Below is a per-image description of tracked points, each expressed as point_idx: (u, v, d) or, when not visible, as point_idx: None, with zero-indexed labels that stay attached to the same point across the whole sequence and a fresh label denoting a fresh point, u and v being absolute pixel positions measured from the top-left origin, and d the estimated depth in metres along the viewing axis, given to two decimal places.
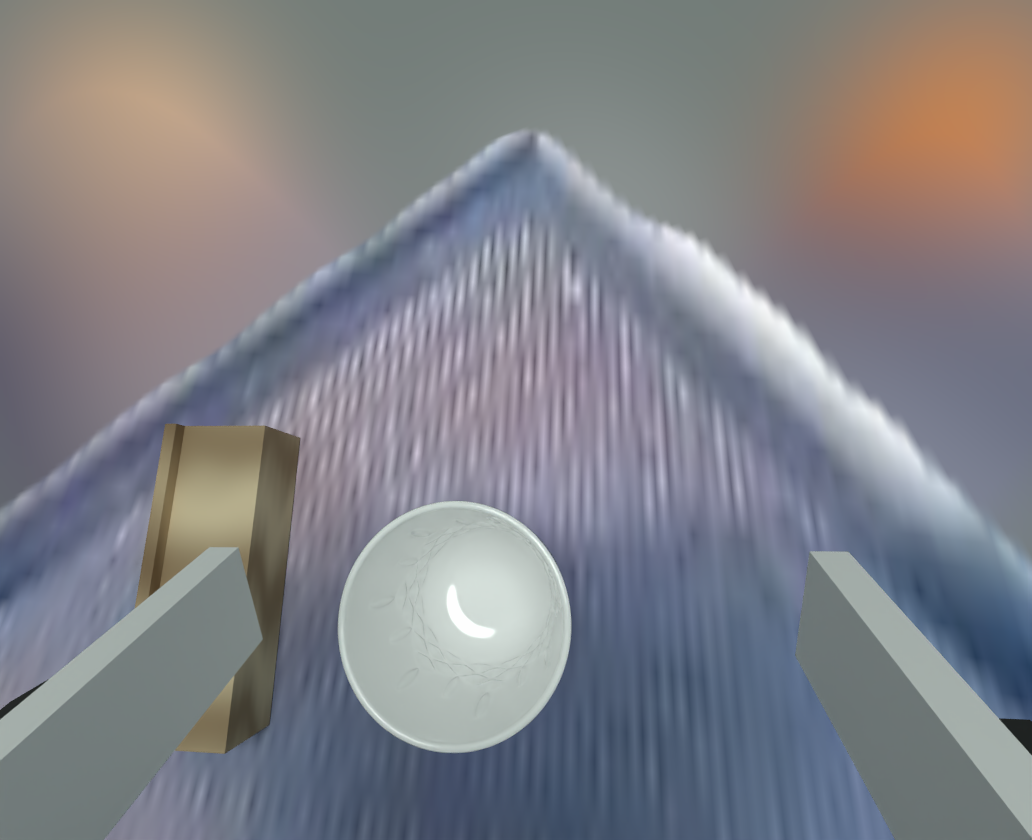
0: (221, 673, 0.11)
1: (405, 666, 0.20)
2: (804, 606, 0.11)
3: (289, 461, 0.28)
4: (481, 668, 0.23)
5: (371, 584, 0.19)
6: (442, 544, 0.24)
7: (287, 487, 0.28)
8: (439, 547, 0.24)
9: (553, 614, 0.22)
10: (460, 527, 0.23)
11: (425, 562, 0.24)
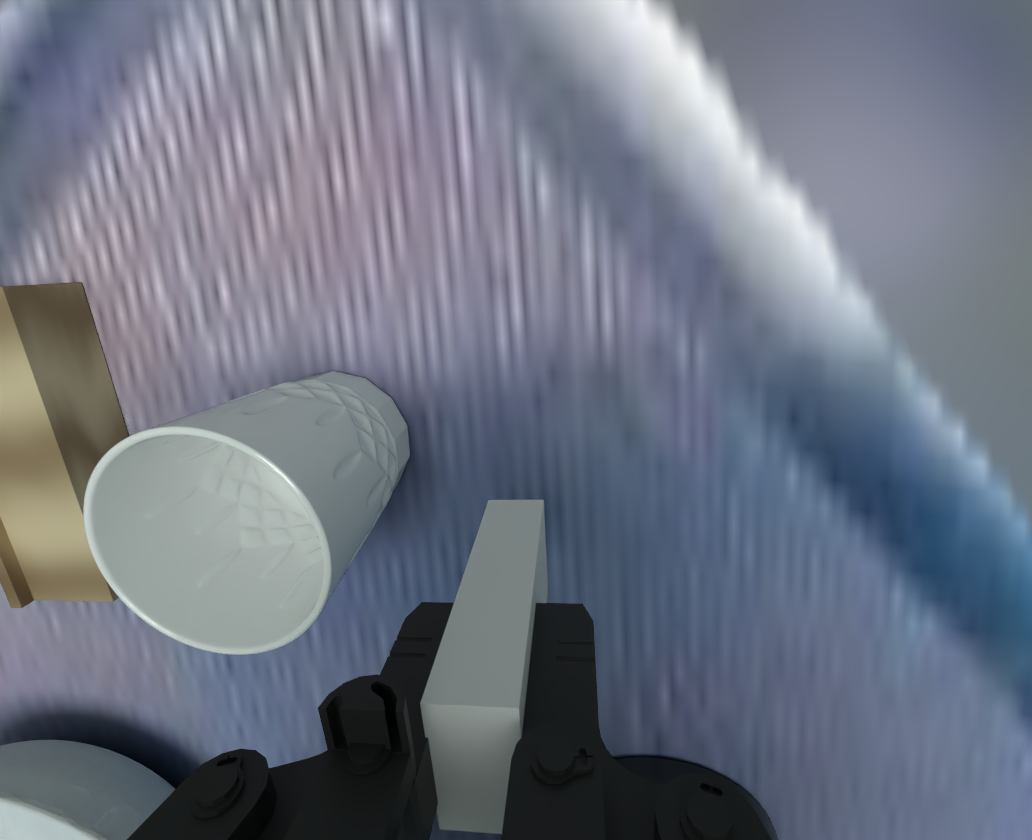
0: None
1: (220, 553, 0.20)
2: None
3: (73, 316, 0.23)
4: None
5: (136, 499, 0.17)
6: None
7: (86, 347, 0.24)
8: None
9: None
10: None
11: None
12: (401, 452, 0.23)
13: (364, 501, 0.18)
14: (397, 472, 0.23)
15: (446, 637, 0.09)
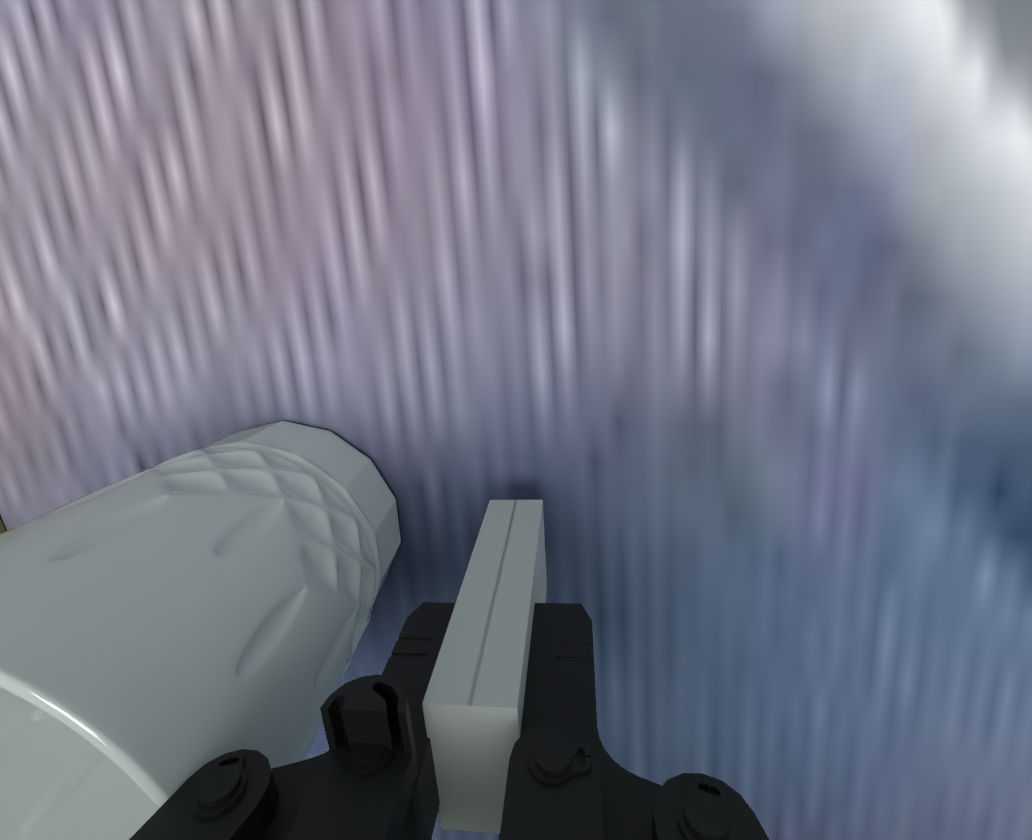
0: None
1: (79, 746, 0.12)
2: None
3: None
4: None
5: None
6: None
7: None
8: None
9: None
10: None
11: None
12: (386, 544, 0.15)
13: (307, 686, 0.10)
14: (379, 580, 0.15)
15: (448, 636, 0.09)
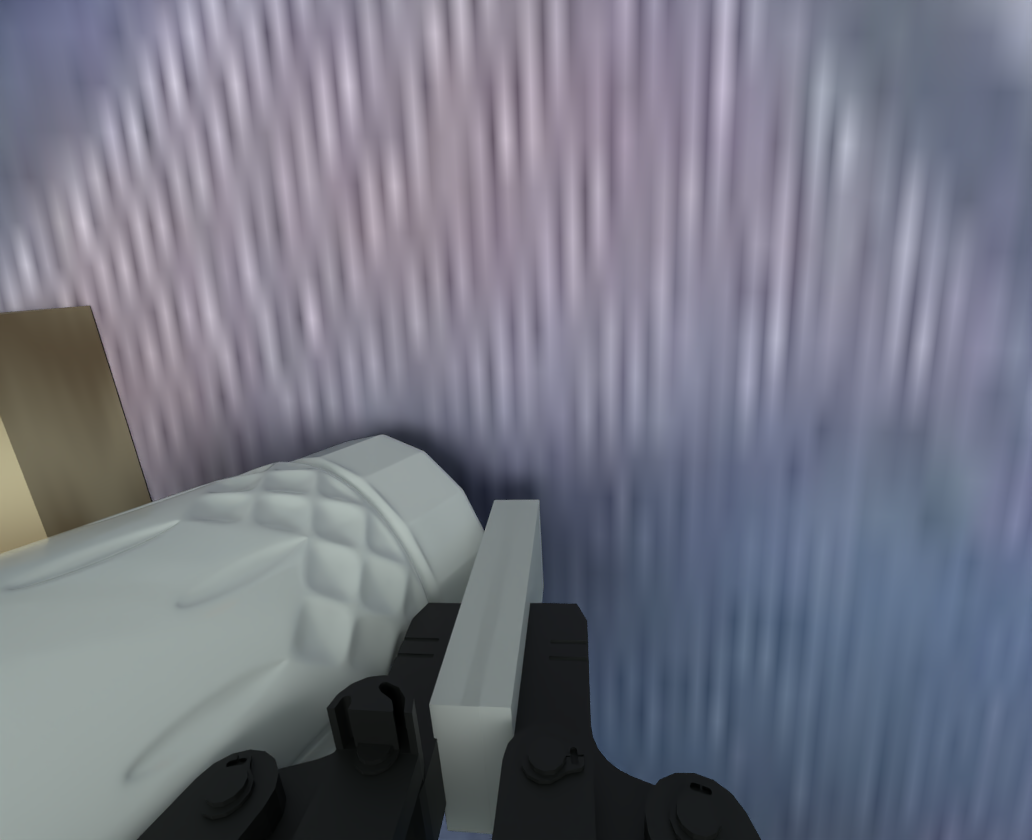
0: None
1: None
2: None
3: (78, 358, 0.15)
4: None
5: None
6: None
7: (97, 404, 0.16)
8: None
9: None
10: None
11: None
12: None
13: None
14: None
15: (453, 637, 0.09)
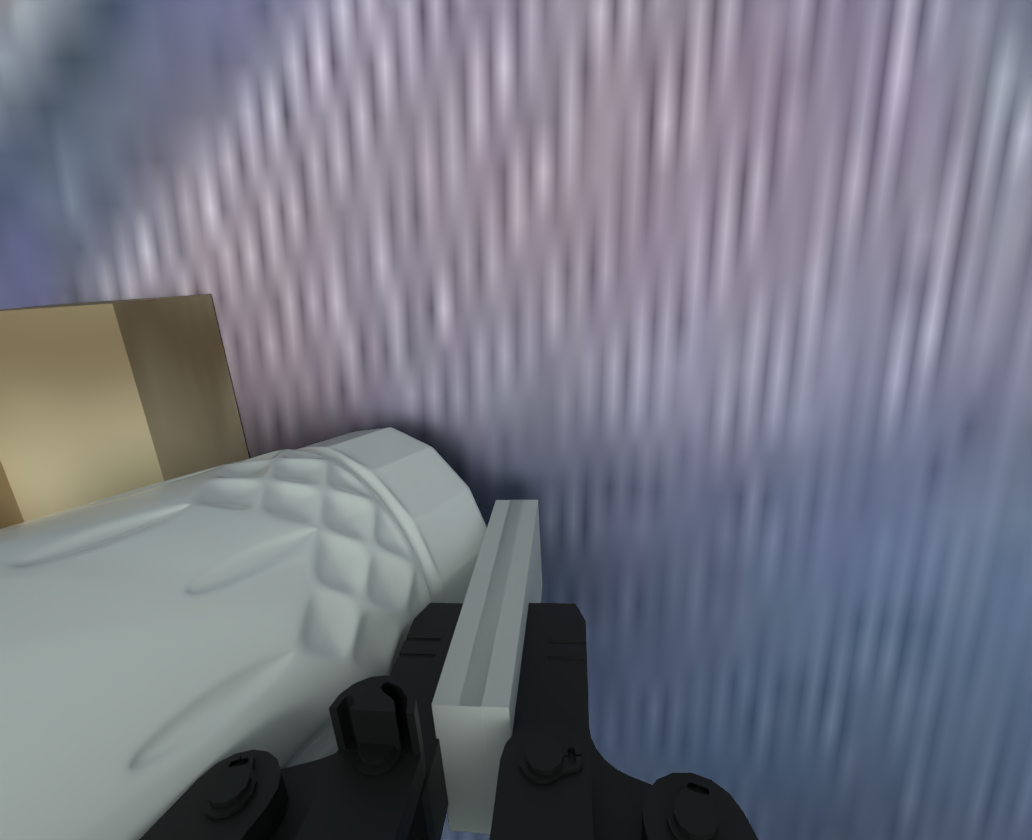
0: None
1: None
2: None
3: (202, 347, 0.15)
4: None
5: None
6: None
7: (217, 396, 0.15)
8: None
9: None
10: None
11: None
12: None
13: None
14: None
15: (456, 637, 0.09)
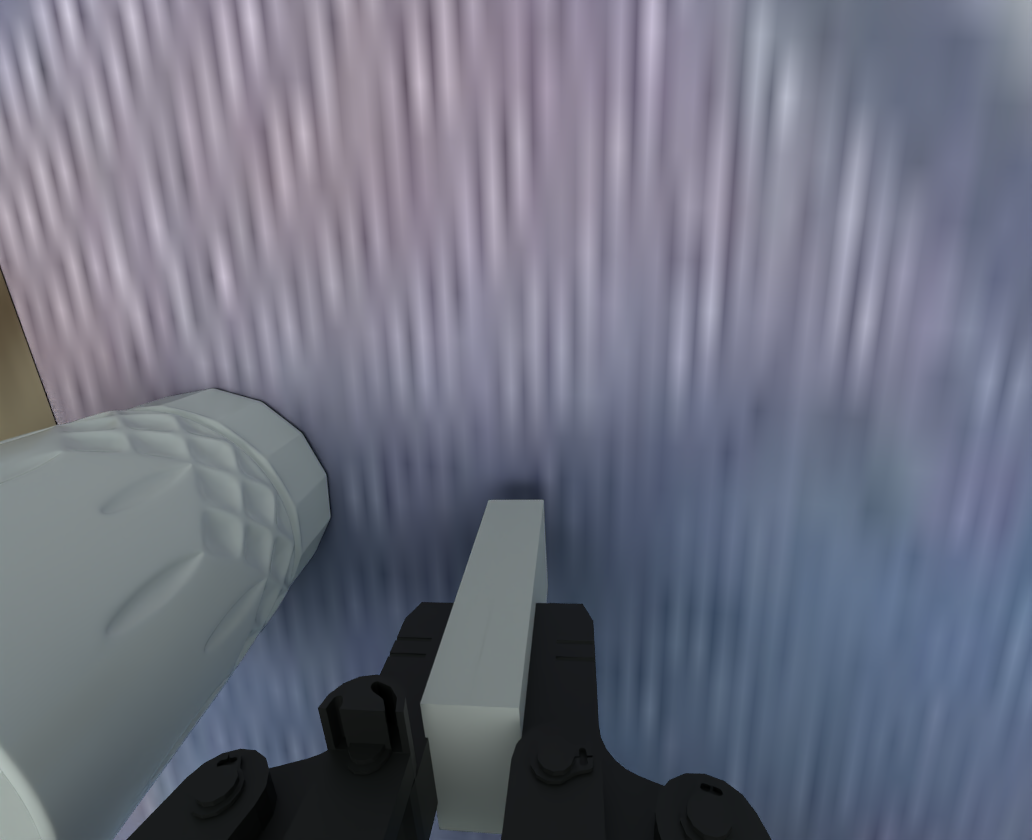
0: None
1: None
2: None
3: None
4: None
5: None
6: None
7: (4, 361, 0.15)
8: None
9: None
10: None
11: None
12: (311, 519, 0.15)
13: (194, 651, 0.10)
14: (300, 554, 0.14)
15: (446, 637, 0.09)
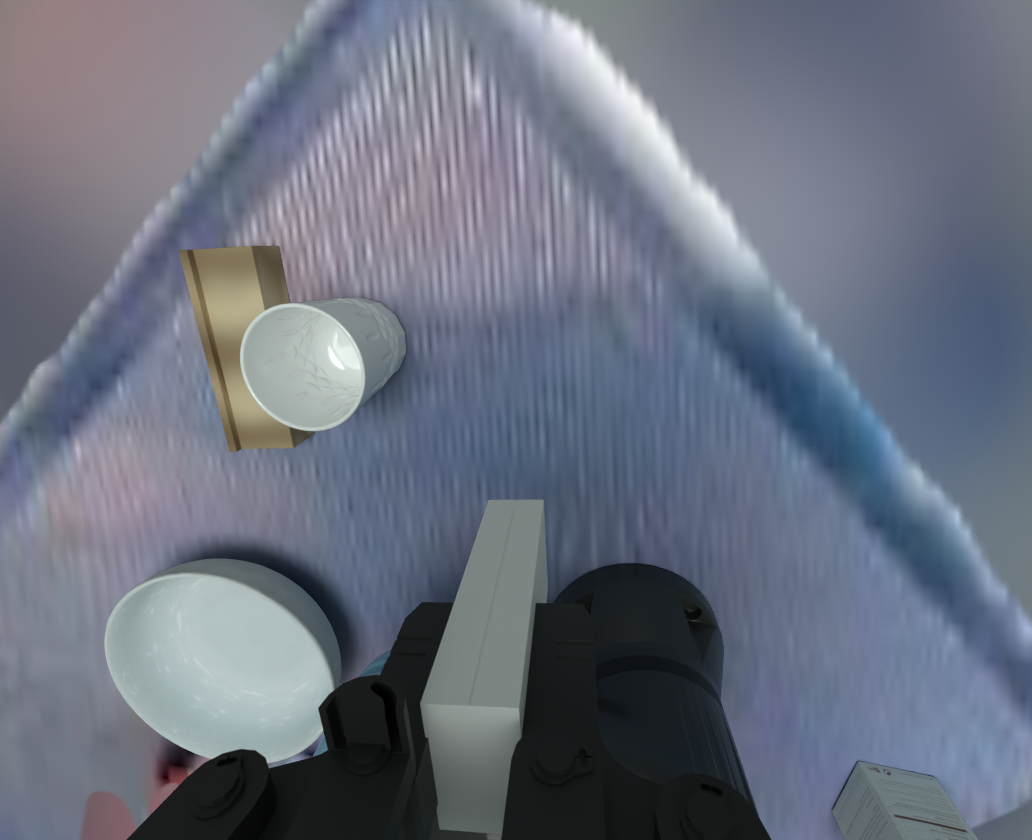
0: None
1: (297, 391, 0.35)
2: None
3: (276, 266, 0.38)
4: (353, 389, 0.38)
5: (260, 350, 0.32)
6: (317, 317, 0.37)
7: (281, 286, 0.39)
8: (315, 319, 0.37)
9: None
10: None
11: (306, 330, 0.36)
12: (401, 347, 0.39)
13: (380, 358, 0.33)
14: (398, 358, 0.38)
15: (446, 637, 0.09)
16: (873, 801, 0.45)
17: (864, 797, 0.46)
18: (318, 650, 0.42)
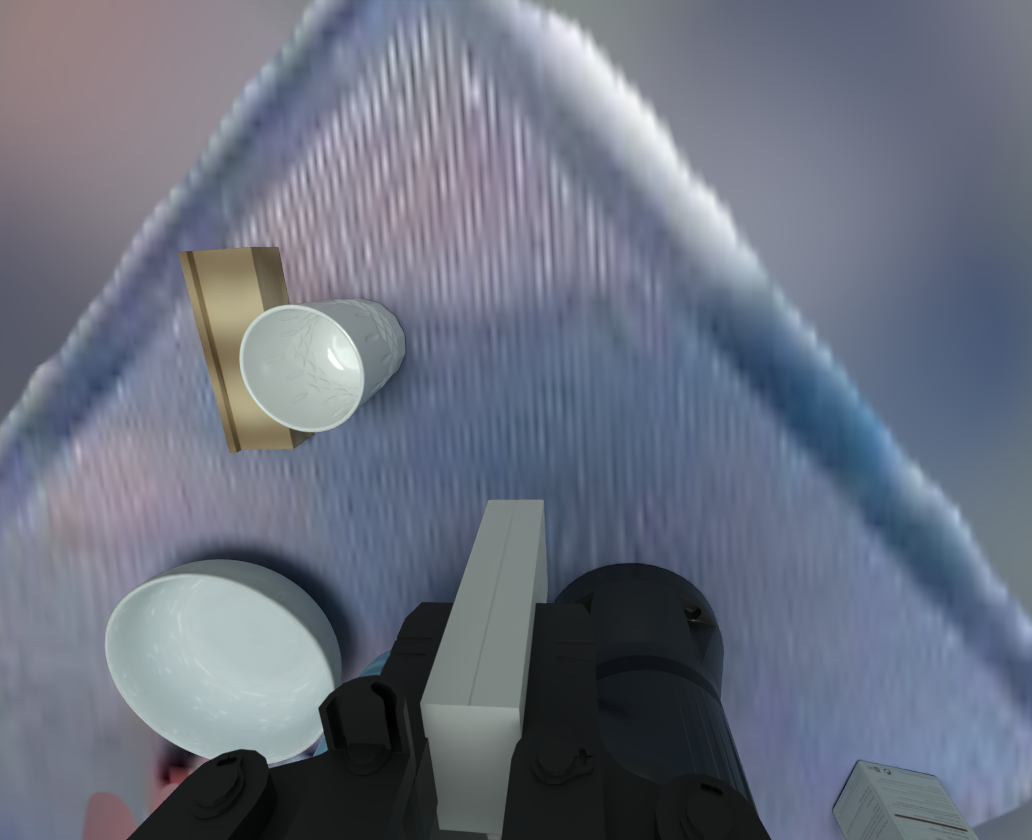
0: None
1: (297, 392, 0.35)
2: None
3: (275, 267, 0.38)
4: (353, 390, 0.38)
5: (260, 351, 0.32)
6: (317, 318, 0.37)
7: (280, 287, 0.39)
8: (315, 320, 0.37)
9: None
10: None
11: (306, 331, 0.37)
12: (400, 348, 0.39)
13: (379, 359, 0.33)
14: (397, 358, 0.38)
15: (445, 637, 0.09)
16: (873, 800, 0.45)
17: (864, 797, 0.46)
18: (318, 650, 0.42)
